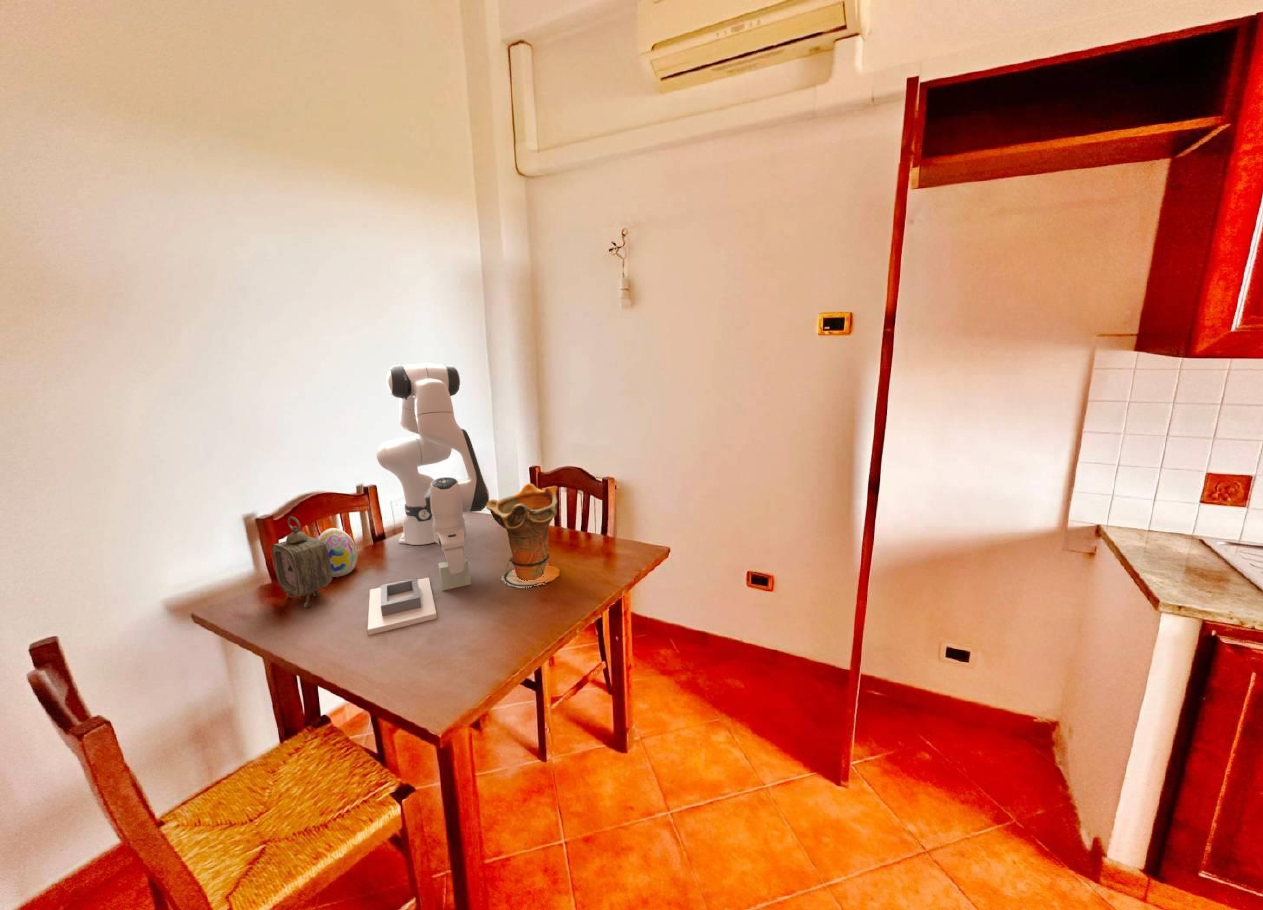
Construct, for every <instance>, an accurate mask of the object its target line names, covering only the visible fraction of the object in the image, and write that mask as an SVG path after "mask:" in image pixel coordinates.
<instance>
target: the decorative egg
mask: <svg viewBox="0 0 1263 910" xmlns="http://www.w3.org/2000/svg"><path fill="white" fill-rule="evenodd" d="M317 539H318V540H320V541H322V542H324V543H325V544H326V546H327V549H328V553H329V558H330V563H331V570H332V577H336V578H340V576H341V577H343V576H346V575H348V574H350V573H351V572H352V571H354V569H355V567H356V565H357V561H358V549H357V546H356V543H355V542H354V540H353V538H352V537H351V536H350V535H349V534H348V533H346V532H345V531H344V530H343V529H339V528H335V527H329V528H327V529H326V530H324V531H323V532H322V533H321V534H320V535H319V536H318V538H317Z"/></svg>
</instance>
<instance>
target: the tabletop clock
mask: <svg viewBox="0 0 1263 910" xmlns="http://www.w3.org/2000/svg"><path fill="white" fill-rule="evenodd" d="M291 520H294V521H295V522H296V524H297V525H298V527H297V525H295V526H292V525H291ZM287 524H288V527H289V529H290V530H291V531H292V532H291V533H289V534H288V535H287V536H286V540H285V541H282V542H279V543H275V544H272V545H271V555H272V561H273V567H274V572H275V575H276V576H275V577H276V580H277V582H278V585H279V587H280V588H281V590H282V591H284V592H286V593H287V594H286V597H287V596H293V597H295V598H299V597H302V596H304V595H305V601H306V602H304V603H303V607H304V608H305V607H308V608H310V607H311V602H310V595H311V594H312V596H313V595H314V596H313V597H318V596H319V595H320V591H318V590H320V589H322V588H325V587H327V586H328V585H329V584H330V583H331V582H332V581H333V578H332V570H331V563H330V558H329V553H328V549H327V546H326V544H325V543H324V542H322V541H320V540H318V538H315V537H311V536H308V535H307V534H306V533H305V532H304V531H301V530H302V526H301V523H300V521H299V520H298V519H297V518H296V517H295V516H289V517H288V518H287ZM317 595H318V596H317Z"/></svg>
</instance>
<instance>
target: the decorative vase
mask: <svg viewBox="0 0 1263 910" xmlns="http://www.w3.org/2000/svg"><path fill="white" fill-rule="evenodd" d="M558 489H559V487H558V486H556V485H553V486H547V487H545V489H544V490H542V489H540V488H538V487H537V486H536V485H535V484H534V483H531V482H530V483H529V482H528V483H527V484H525V485H524V486H523V487H522V488H521V491H520V492H518V493H516V494H514V495H511V496H510V495H509V496H507V497H505V498H501V499H498V500H497V499H489V501H488V502H487V504H486V507H485V508H486V509H487V510H488V511H490V514H491V516H492V518H493V519H494V520H495V522H496V523H497V524H498V525H499V526H501V527H502V528H503V529H505V530H506V533H507V538H508V543H509V546H510V547H509V548H510V551H511V557H510V559H508V563H507V565H506V567H508V566H509V563H510V562H511V564H512V565H513V567H512V568H511V569H510V570H509V571H507V572H506V573H504V574H503V575H502V576H501V579H500V580H501V581H503V583H504V584H506V583H507V584H506V585H507V586H509V587H512V588H513V587H514V588H517V589H530V588H532V586H534V585H535V586H536V585H537V584H539V583H545V581H544V582H537V583H536V582H533V583H535V584H521V583H525V582H522V581H519V580H513V579H512V578H509V577H515V576H514V575H512V570H515V573H516V575H517V576H516V577H518V578H519V579H521V580H524V581H525V580H526V581H528V580H535V579H537V578H539V577H541V576H542V575H543V574H544V571H545V567H546V565H547V564H548V561H549V557H550V554H549V542H550V541H549V527H550V524H551V522H552V521H553V519H554V518H555V517H557V514H558V513H557V512H558V496H557V492H558ZM543 577H544V576H543ZM547 580H549V579H547ZM547 580H546V581H547ZM519 583H520V584H519ZM530 583H532V582H530ZM525 587H526V588H525ZM527 587H528V588H527ZM529 587H530V588H529Z"/></svg>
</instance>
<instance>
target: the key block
mask: <svg viewBox="0 0 1263 910" xmlns="http://www.w3.org/2000/svg"><path fill="white" fill-rule="evenodd" d="M438 570H439V578H440V587H441V589H442V591H446V590H447V591H448V590H451V589H455V588H460V587H466V586H469V585H470V586H471V584H472V583H471V575H470V566H469V561H468V559H467V557H464V572H463V573H461V574H459V581H453V578H452V575H451V574H450V571H449V567H448V564H447V561H444V562H439V563H438Z"/></svg>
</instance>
